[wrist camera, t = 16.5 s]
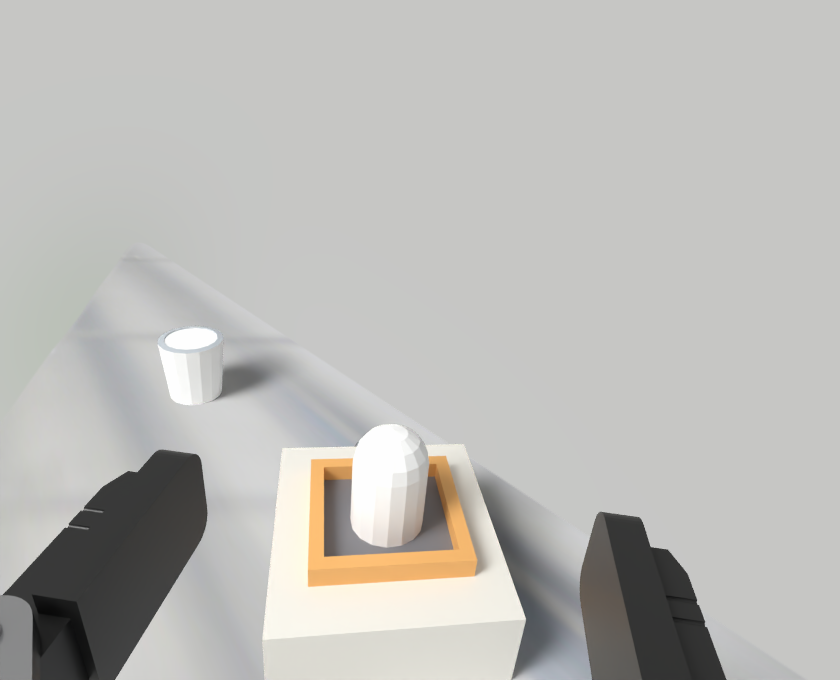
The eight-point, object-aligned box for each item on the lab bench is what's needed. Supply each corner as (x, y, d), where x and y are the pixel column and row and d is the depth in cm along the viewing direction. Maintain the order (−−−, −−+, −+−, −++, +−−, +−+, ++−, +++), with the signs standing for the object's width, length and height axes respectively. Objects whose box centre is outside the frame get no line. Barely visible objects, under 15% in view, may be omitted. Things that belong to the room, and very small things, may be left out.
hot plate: (450, 474, 57) (459, 411, 54) (511, 679, 38) (530, 602, 35) (285, 480, 54) (284, 413, 51) (266, 703, 36) (261, 622, 32)
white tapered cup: (151, 392, 66) (143, 338, 62) (202, 371, 71) (197, 319, 68) (189, 415, 62) (183, 358, 59) (240, 390, 67) (236, 337, 64)
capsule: (407, 557, 39) (417, 464, 36) (337, 533, 41) (340, 441, 37) (432, 507, 44) (442, 420, 40) (368, 487, 45) (373, 401, 42)
